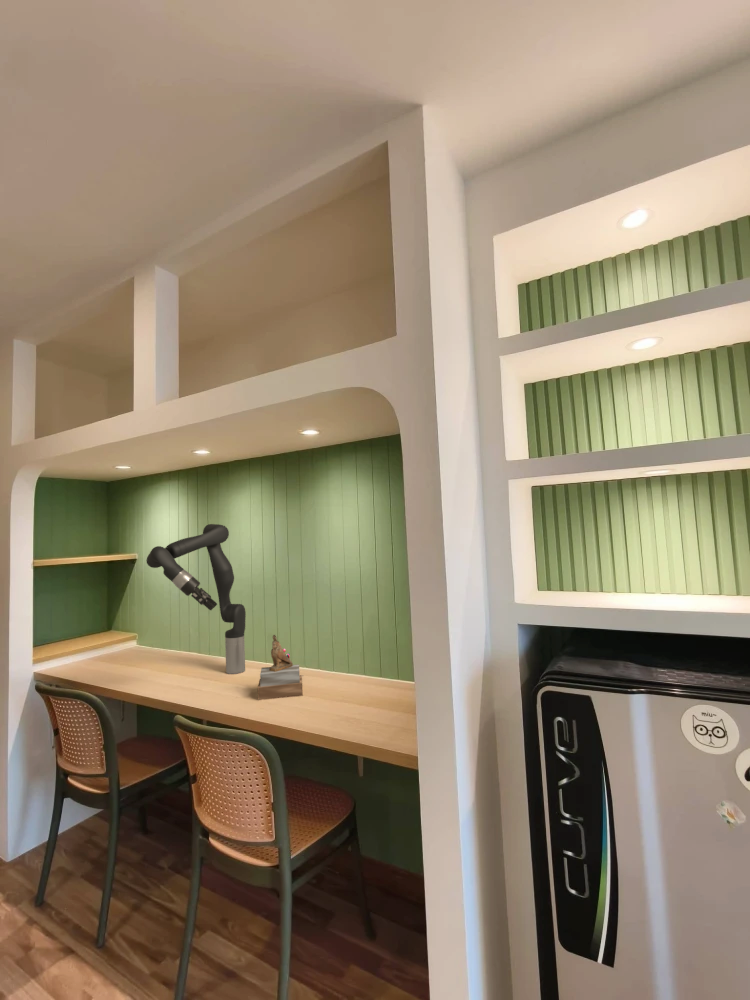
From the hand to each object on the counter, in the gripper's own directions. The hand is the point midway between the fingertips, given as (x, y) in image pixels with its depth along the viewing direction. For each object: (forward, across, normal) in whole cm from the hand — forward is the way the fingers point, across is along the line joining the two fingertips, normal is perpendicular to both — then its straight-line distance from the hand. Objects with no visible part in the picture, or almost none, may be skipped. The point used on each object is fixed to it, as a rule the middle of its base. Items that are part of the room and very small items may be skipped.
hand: (214, 607), depth 213 cm
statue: (+48, +8, +4) cm, 49 cm away
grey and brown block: (+46, -9, +6) cm, 47 cm away
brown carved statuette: (+39, -7, -1) cm, 40 cm away
